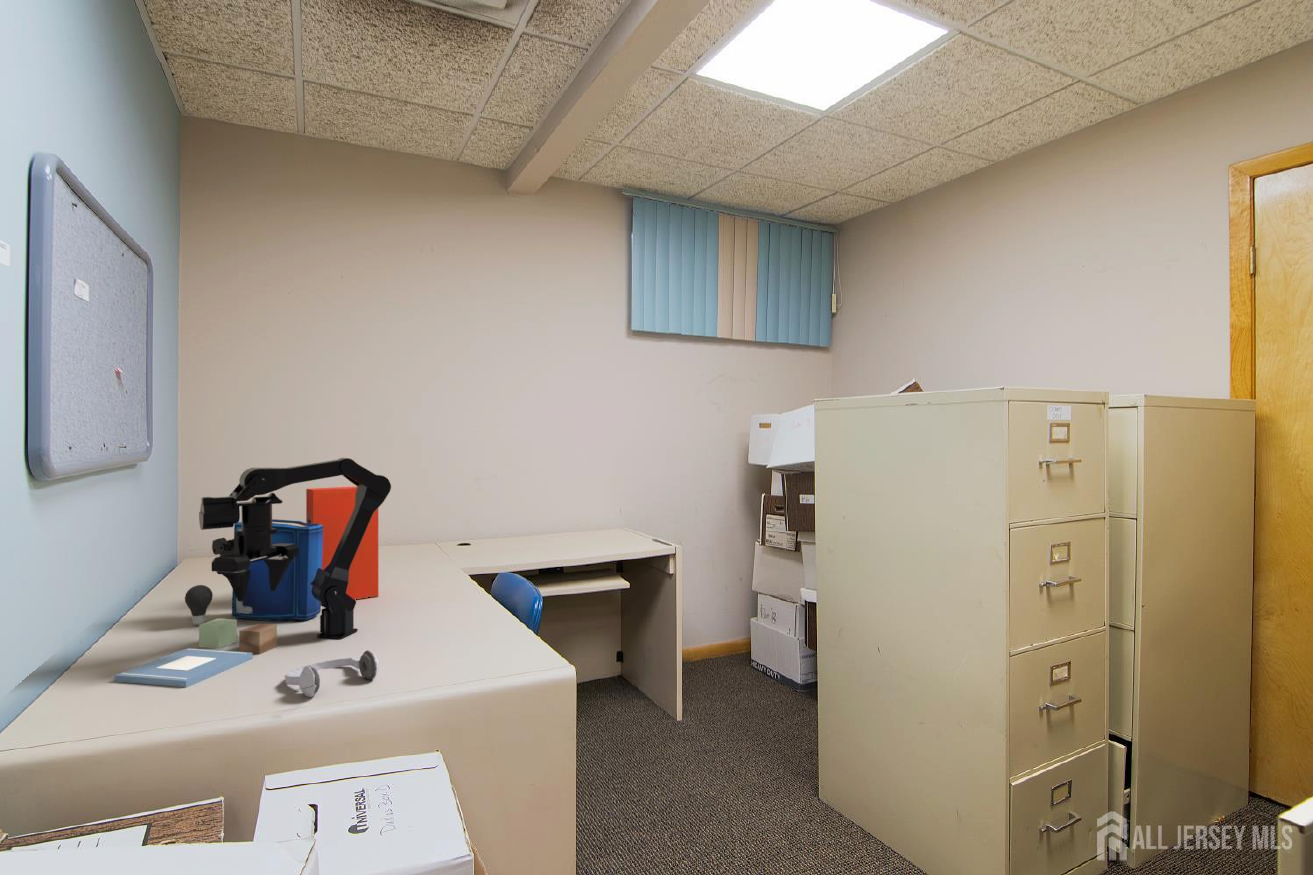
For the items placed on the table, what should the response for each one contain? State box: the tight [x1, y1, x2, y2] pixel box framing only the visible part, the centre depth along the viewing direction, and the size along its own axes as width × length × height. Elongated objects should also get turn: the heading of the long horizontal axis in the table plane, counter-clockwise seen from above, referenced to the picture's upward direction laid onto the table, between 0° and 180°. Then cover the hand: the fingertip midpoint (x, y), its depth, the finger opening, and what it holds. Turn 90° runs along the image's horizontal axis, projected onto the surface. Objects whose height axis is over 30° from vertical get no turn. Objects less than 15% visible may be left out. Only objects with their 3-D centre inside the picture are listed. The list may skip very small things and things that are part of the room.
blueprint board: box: [113, 647, 254, 688], centre depth 132 cm, size 16×16×1 cm
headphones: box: [284, 649, 380, 698], centre depth 124 cm, size 17×6×20 cm
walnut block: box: [238, 623, 278, 655], centre depth 144 cm, size 5×5×5 cm
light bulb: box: [184, 584, 214, 627], centre depth 161 cm, size 6×6×10 cm
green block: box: [198, 618, 238, 649], centre depth 148 cm, size 5×5×5 cm
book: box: [231, 518, 323, 622], centre depth 169 cm, size 22×7×25 cm, turn 84°
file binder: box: [305, 485, 379, 601], centre depth 188 cm, size 8×17×32 cm, turn 131°
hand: (257, 595), depth 144 cm, fingers open, 9 cm apart
